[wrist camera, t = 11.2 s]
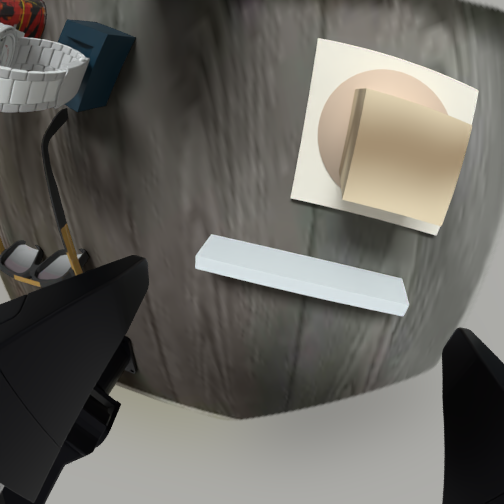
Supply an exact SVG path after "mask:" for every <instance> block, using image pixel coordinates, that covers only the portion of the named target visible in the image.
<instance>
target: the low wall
mask: <svg viewBox="0 0 504 504" xmlns="http://www.w3.org/2000/svg"><path fill="white" fill-rule="evenodd" d="M195 268H196V269H200V270H204V271H208V272H212V273H216V274H220V275H224V276H228V277H232V278H236V279H240V280H244V281H248V282H252V283H256V284H260V285H264V286H269V287H273V288H277V289H281V290H285V291H290V292H294V293H298V294H303V295H307V296H311V297H316V298H320V299H325V300H329V301H333V302H338V303H342V304H347V305H352V306H356V307H361V308H365V309H370V310H375V311H380V312H384V313H389V314H394V315H399V316H404V314H405V312H406V310H407V308H408V306H409V302H408V298H407V295H406V291H405V287H404V284H403V280H402V278H398V277H394V276H390V275H386V274H381V273H377V272H373V271H369V270H364V269H360V268H356V267H352V266H347V265H343V264H339V263H335V262H330V261H326V260H322V259H317V258H313V257H309V256H305V255H300V254H296V253H292V252H287V251H283V250H279V249H274V248H270V247H266V246H261V245H257V244H252V243H248V242H244V241H239V240H235V239H230V238H226V237H222V236H217V235H213V234H211V236H210V237H209V238H208V240H207V241H206V242H205V244H204V245H203V246H202V248H201V249H200V250H199V252H198V253H197V255H196V265H195Z"/></svg>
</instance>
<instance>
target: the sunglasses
mask: <svg viewBox="0 0 504 504" xmlns="http://www.w3.org/2000/svg"><path fill="white" fill-rule="evenodd" d="M67 119H68V114H67V109H62V110H60V111H59V112H58V113H57V114H56V116H55V117H54V118H53V120H52V122H51V123H50V125H49V127H48V128H47V130H46V132H45V134H44V136H43V140H42V145H41V148H42V157H43V164H44V170H45V175H46V180H47V185H48V190H49V194H50V198H51V203H52V207H53V211H54V214H55V218H56V222H57V226H58V229H59V232H60V235H61V239H62V242H63V245H64V248H65V249H64V250H59V251H57V252H55V253H54V254H52V255H51V256H50V257H48V258H47V259H46V260H45V261H43V262H42V263H41V264H40V262H41V260H42V257H43V252H42V250H41V248H40V247H39V246H37V245H35V246H36V247H37V249H38V250H35V249H32V248H30V247H28V246H26V245H25V243H26V242H25V241H22V240H21V241H17V242H15V243H14V244H13V245H12V246H10V247H9V248H8V249H4V246H3V243H2V241H1V238H0V256H1V258H0V269H1V271H3V272H4V273H6V274H7V275H9V276H10V277H12V278H14V279H16V280H18V281H22V282H25V283H28V284H31V285H35V286H38V287H41V288H42V287H43V288H44V287H47V286H49V285H52V284H54V283H57V282H60V281H62V280H65V279H68V278H70V277H73V276H76V275H78V274H81V273H83V272H82V269H81V268H82V267H83V266H84V264H85V263H86V262H87V260H88V255H87V253H86V251H85V250H84V249H79V250H80V251H81V252H82V253H83V254H79V255H76V251H75V248H74V245H73V242H72V239H71V235H70V232H69V229H68V225H67V222H66V219H65V215H64V211H63V208H62V204H61V200H60V196H59V192H58V188H57V185H56V182H55V179H54V176H53V173H52V169H51V165H50V159H49V153H48V143H49V141H50V139H51V137H52V136H53V135H54V134H55V133H56V132H57V130H58V129H59V128H60V127H61V126H62V125H63V124H64V122H65V121H66V120H67ZM30 278H32V280H30Z"/></svg>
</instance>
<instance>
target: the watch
mask: <svg viewBox="0 0 504 504" xmlns="http://www.w3.org/2000/svg"><path fill="white" fill-rule="evenodd" d="M24 35H25V33H23V32H21V31H19V30H16V29H15V28H14V27H13V26H10V25H4V24H3V23H0V112H1V111H2V112H18V109H19V112H30V111H34V110H35V111H39V110H44V109H46V108H52V107H54V109H56V108H58V107H60V106H62V105H64V104H65V105H66V106H68V107H70V108H71V109H73V110H75V111H76V112H80V111H84V110H89V109H93V108H98V107H102V106H106V104H107V101H108V99H109V96H110V94H111V91H112V89H113V86H114V84H115V81H116V79H117V77H118V75H119V72H120V70H121V68H122V65H123V63H124V61H125V59H126V57H127V55H128V53H129V51H130V48H131V46H132V44H133V42H134V40H135V38H136V37H133V36H131V35H128V34H126V33H123V32H121V31H118V30H116V29H113V28H111V27H108V26H105V25H102V24H100V23H97V22H90V21H80V20H67V21H66V23H65V26H64V28H63V30H62V33H61V35H60V38H59V40H58V43H57V42H53V41H49V40H44V39H43V40H42V39H37V38H26V37H24ZM41 40H42V42H41ZM40 43H41V45H40ZM31 45H32V47H31ZM43 47H44V48H43ZM51 47H52V48H51ZM30 48H31V50H30ZM42 50H43V51H42ZM29 51H30V53H29ZM41 53H42V54H41ZM28 54H29V56H28ZM40 56H41V57H40ZM27 58H28V59H27ZM39 59H40V60H39ZM26 61H27V62H26ZM38 62H39V63H38ZM33 64H34V66H33ZM32 67H33V69H32ZM20 68H21V70H20ZM26 70H33V71H29V72H27V71H26ZM41 71H43V72H41ZM27 73H28V74H27ZM26 76H27V78H26ZM13 82H14V84H13ZM12 86H13V88H12ZM11 90H12V93H11ZM10 95H11V97H10ZM9 99H10V102H9ZM19 104H20V106H19Z"/></svg>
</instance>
